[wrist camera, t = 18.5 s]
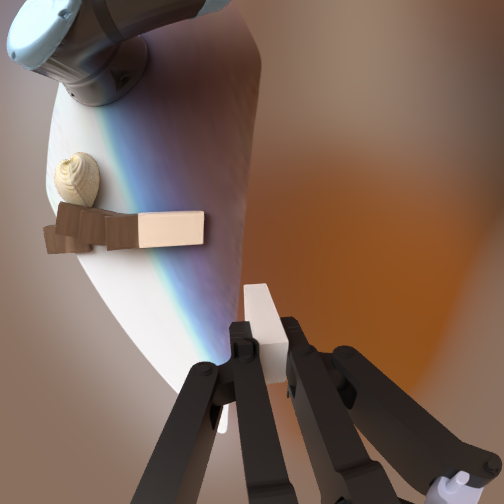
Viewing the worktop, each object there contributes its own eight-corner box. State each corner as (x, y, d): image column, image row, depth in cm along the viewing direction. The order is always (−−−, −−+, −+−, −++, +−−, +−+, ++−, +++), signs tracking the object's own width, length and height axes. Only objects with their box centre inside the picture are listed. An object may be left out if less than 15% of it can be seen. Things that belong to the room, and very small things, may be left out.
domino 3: (135, 244, 42) (78, 239, 37) (139, 215, 41) (81, 209, 36) (136, 247, 41) (77, 243, 36) (141, 218, 40) (80, 212, 34)
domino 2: (93, 248, 42) (51, 251, 41) (89, 221, 40) (47, 225, 39) (89, 251, 40) (47, 254, 39) (85, 223, 39) (43, 227, 38)
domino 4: (166, 241, 43) (107, 247, 38) (166, 211, 41) (104, 216, 37) (168, 244, 42) (107, 250, 37) (168, 213, 40) (104, 218, 35)
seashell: (88, 137, 34) (97, 171, 32) (98, 168, 42) (110, 201, 40) (44, 158, 31) (49, 196, 29) (61, 186, 39) (69, 221, 37)
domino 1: (109, 239, 42) (56, 229, 36) (115, 212, 40) (60, 201, 34) (109, 243, 40) (54, 233, 35) (115, 215, 39) (58, 204, 33)
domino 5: (200, 241, 44) (138, 245, 39) (201, 210, 42) (138, 212, 38) (202, 243, 42) (139, 248, 38) (204, 212, 41) (138, 214, 36)
